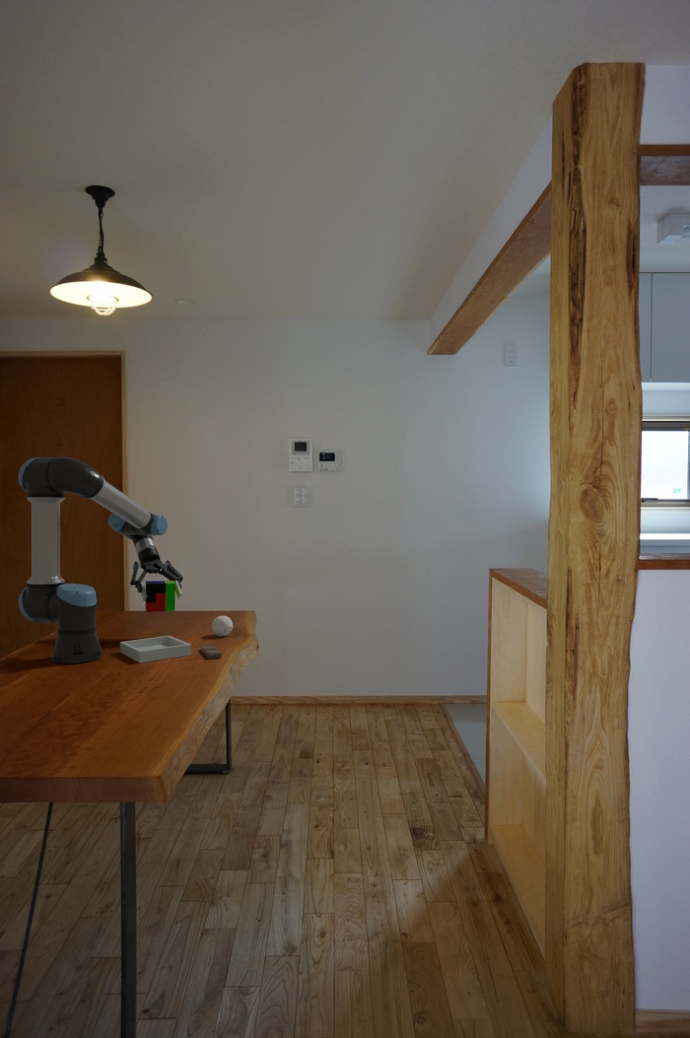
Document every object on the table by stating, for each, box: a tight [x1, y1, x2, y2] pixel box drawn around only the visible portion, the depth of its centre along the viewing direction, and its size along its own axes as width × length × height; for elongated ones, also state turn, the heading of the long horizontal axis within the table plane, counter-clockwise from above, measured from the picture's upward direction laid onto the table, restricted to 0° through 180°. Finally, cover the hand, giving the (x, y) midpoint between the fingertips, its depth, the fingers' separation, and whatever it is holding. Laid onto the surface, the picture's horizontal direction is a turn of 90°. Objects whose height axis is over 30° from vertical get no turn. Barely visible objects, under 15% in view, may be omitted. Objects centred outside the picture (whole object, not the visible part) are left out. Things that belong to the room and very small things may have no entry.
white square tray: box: [119, 635, 192, 664], centre depth 222 cm, size 17×17×4 cm
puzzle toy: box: [144, 580, 176, 613], centre depth 244 cm, size 10×10×10 cm
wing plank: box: [200, 644, 222, 660], centre depth 222 cm, size 14×4×2 cm, turn 22°
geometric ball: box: [211, 615, 234, 638], centre depth 250 cm, size 8×8×8 cm
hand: (163, 597), depth 243 cm, fingers closed on puzzle toy, 12 cm apart
